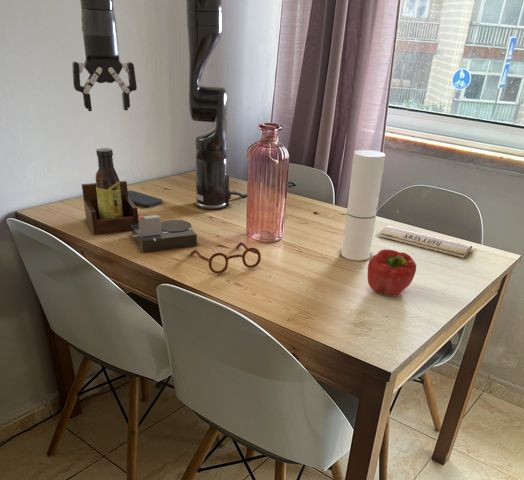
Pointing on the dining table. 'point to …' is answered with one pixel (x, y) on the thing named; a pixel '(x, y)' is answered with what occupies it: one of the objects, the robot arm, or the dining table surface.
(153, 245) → the hob
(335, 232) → the dining table surface
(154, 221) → the knob
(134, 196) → the phone
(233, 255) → the glasses
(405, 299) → the dining table surface
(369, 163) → the cylindrical container
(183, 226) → the burner ring
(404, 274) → the vegetable
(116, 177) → the sauce bottle
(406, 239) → the newspaper
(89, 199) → the spice rack
